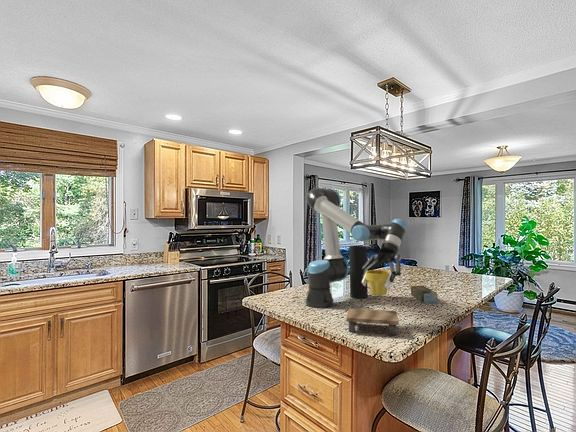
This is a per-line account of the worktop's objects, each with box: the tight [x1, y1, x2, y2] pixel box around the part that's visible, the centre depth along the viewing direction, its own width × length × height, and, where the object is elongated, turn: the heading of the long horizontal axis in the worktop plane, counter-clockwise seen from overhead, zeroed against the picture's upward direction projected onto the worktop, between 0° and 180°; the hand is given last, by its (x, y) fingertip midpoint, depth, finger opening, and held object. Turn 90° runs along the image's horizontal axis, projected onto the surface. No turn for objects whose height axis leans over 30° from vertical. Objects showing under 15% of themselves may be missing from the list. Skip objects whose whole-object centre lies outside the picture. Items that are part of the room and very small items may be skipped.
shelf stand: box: [345, 307, 400, 337], centre depth 129 cm, size 20×14×6 cm
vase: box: [348, 245, 369, 300], centre depth 186 cm, size 10×10×30 cm
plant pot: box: [366, 269, 391, 297], centre depth 136 cm, size 10×10×10 cm
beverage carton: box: [410, 285, 439, 305], centre depth 177 cm, size 8×19×7 cm, turn 179°
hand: (374, 285), depth 134 cm, fingers closed on plant pot, 10 cm apart
